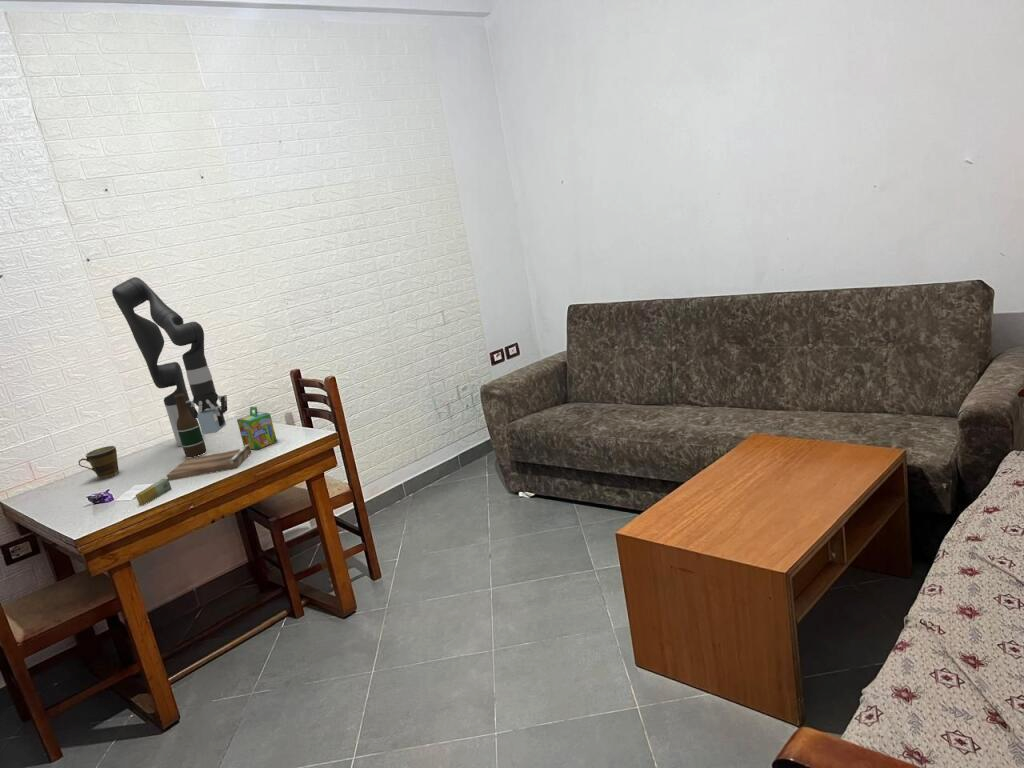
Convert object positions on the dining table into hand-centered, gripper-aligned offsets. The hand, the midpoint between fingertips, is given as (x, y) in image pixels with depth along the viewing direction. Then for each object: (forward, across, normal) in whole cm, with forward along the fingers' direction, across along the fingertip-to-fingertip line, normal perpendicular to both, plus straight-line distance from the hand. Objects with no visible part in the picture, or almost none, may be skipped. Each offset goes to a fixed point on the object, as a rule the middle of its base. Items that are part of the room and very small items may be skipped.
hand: (213, 426), depth 255 cm
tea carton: (+1, 0, 0) cm, 1 cm away
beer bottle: (+14, -18, +19) cm, 30 cm away
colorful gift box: (+14, +8, +16) cm, 23 cm away
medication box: (+14, -14, -24) cm, 31 cm away
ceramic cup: (+14, -49, +10) cm, 52 cm away
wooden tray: (+14, -5, 0) cm, 15 cm away
